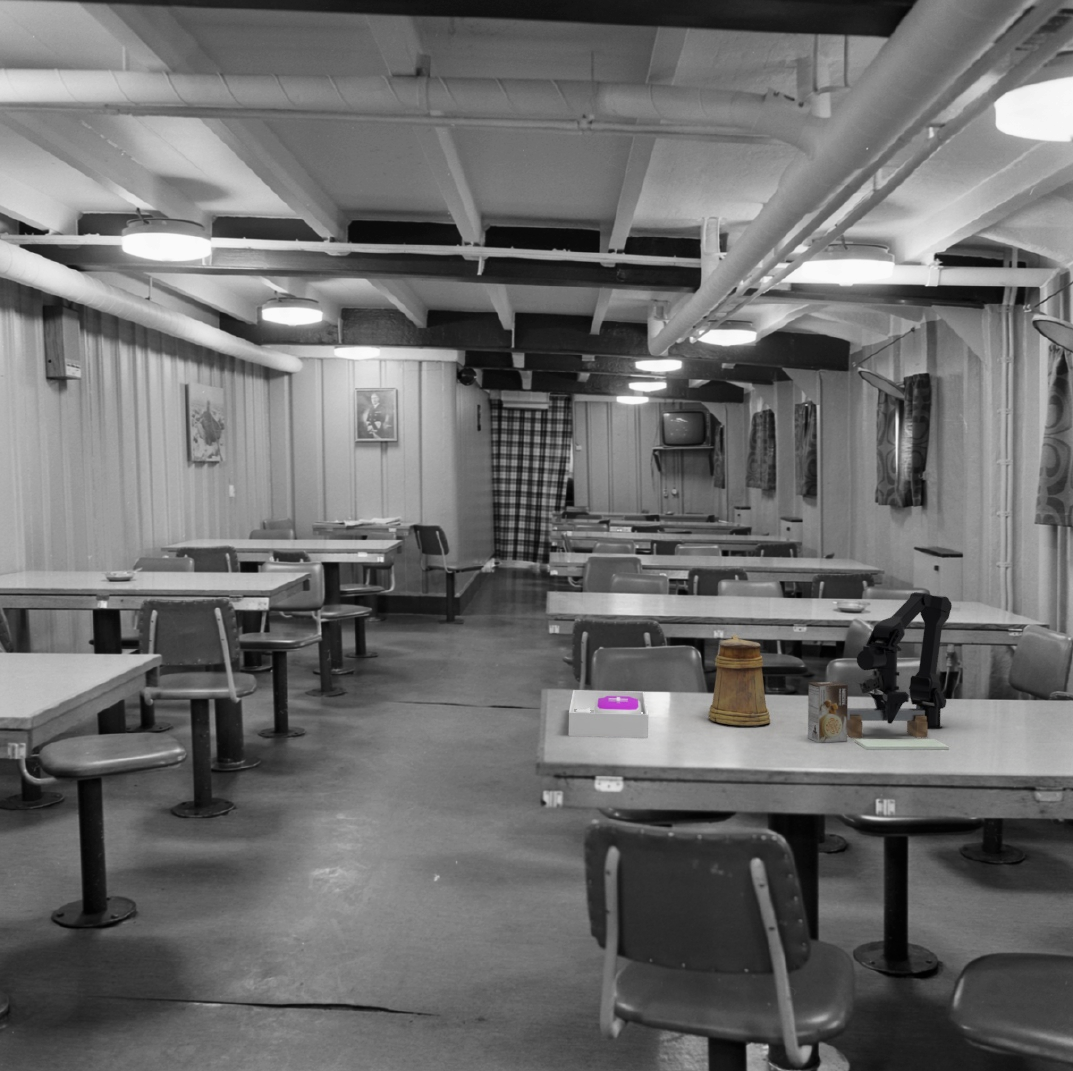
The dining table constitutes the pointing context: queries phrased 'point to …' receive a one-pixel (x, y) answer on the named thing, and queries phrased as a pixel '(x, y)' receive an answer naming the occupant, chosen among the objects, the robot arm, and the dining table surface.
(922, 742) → the pad
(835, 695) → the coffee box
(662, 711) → the dining table surface
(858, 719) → the post
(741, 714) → the tankard
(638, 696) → the light grey open box
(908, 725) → the post
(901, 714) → the rail
